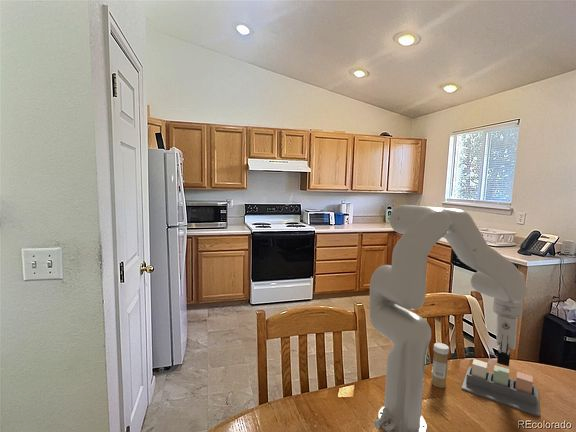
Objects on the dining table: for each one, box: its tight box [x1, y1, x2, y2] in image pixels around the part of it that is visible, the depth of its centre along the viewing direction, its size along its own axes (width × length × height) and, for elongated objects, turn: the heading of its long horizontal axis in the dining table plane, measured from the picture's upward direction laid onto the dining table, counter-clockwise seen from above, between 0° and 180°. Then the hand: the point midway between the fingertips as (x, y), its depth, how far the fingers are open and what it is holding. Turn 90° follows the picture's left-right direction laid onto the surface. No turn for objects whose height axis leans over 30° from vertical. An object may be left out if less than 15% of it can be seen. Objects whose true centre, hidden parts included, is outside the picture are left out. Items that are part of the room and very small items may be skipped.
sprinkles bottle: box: [431, 342, 450, 389], centre depth 106 cm, size 5×5×13 cm
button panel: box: [461, 365, 541, 418], centre depth 103 cm, size 14×20×4 cm
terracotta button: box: [515, 371, 534, 394], centre depth 100 cm, size 4×4×4 cm
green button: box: [492, 364, 510, 387], centre depth 103 cm, size 4×4×4 cm
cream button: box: [471, 358, 488, 380], centre depth 107 cm, size 4×4×4 cm
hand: (503, 363), depth 103 cm, fingers closed
